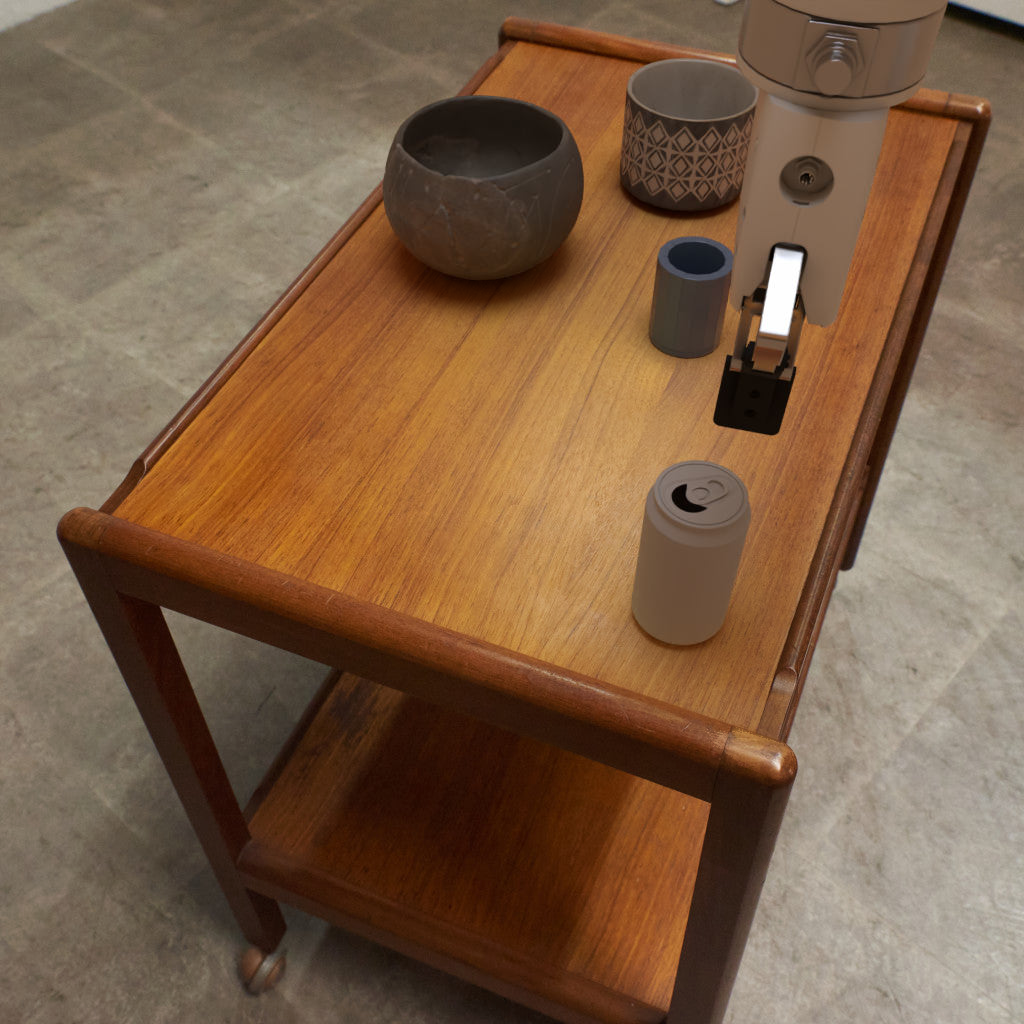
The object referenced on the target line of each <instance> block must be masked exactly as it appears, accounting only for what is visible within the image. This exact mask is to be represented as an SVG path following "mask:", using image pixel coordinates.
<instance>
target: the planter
mask: <svg viewBox="0 0 1024 1024" xmlns="http://www.w3.org/2000/svg"><path fill="white" fill-rule="evenodd" d="M758 94H759V88H757V87H756V86H754V85H753V84H752V83H751V82H749V81H748V80H747V79H746V78H745V77H744V76H743V75H742V74H741V72H740V70H739V68H738V67H735V66H733V65H731V64H727V63H724V62H720V61H716V60H711V59H704V58H695V57H694V58H693V57H679V58H668V59H662V60H658V61H653V62H650V63H648V64H646V65H643V66H641V67H639V68H638V69H636V70H635V71H634V72H633V73H632V74H631V75H630V76H629V78H628V79H627V82H626V91H625V101H624V102H625V103H624V112H623V113H624V115H623V127H622V138H621V149H620V161H619V162H620V163H619V172H618V173H619V179H620V181H621V184H622V186H623V187H624V188H625V190H626V191H627V192H628V193H629V194H631V195H632V196H633V197H635V198H636V199H638V200H639V201H641V202H643V203H645V204H648V205H650V206H654V207H656V208H661V209H665V210H669V211H678V212H701V211H707V210H713V209H715V208H718V207H722V206H724V205H726V204H728V203H730V202H732V201H733V200H734V199H735V198H737V197H738V196H739V195H740V194H741V191H742V184H743V178H744V171H745V165H746V159H747V154H748V148H749V142H750V136H751V131H752V125H753V120H754V115H755V110H756V104H757V99H758Z"/></svg>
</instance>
